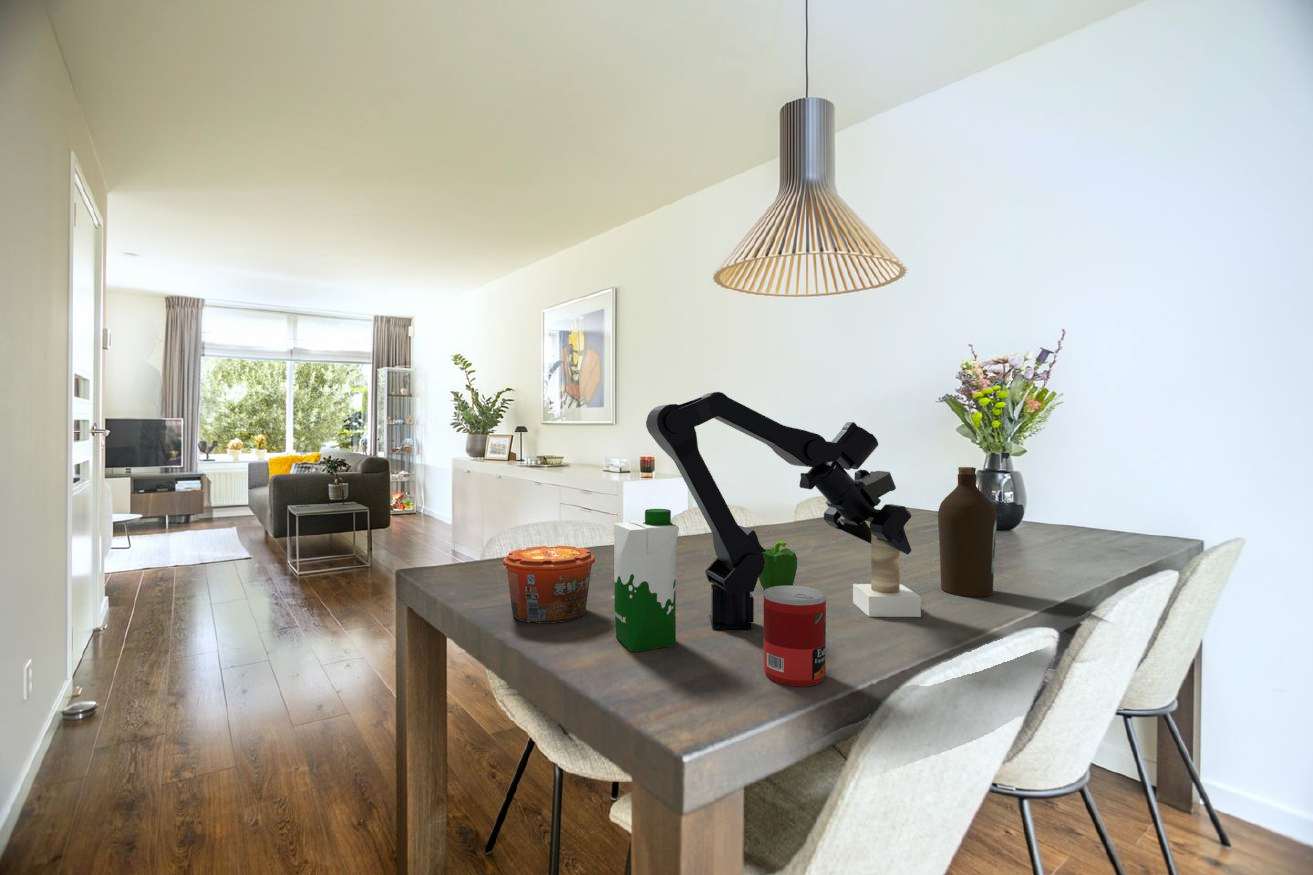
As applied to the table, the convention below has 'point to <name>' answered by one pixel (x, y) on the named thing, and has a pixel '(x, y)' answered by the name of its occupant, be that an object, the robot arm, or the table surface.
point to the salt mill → (884, 567)
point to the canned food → (794, 635)
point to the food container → (549, 582)
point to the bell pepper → (778, 567)
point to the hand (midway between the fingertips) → (892, 547)
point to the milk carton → (646, 581)
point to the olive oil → (967, 539)
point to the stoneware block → (887, 602)
